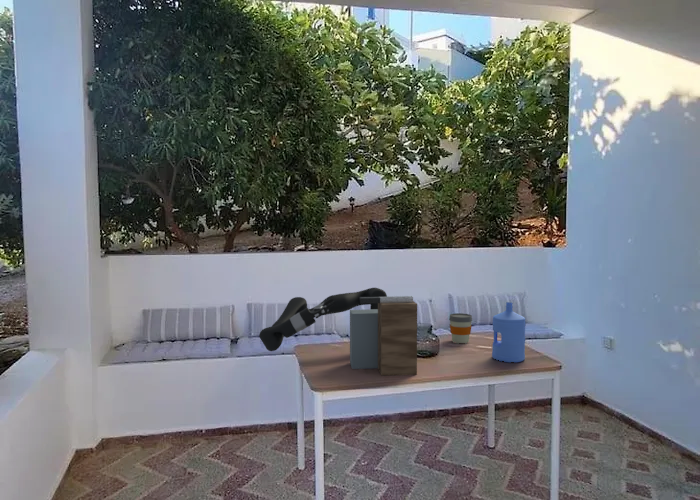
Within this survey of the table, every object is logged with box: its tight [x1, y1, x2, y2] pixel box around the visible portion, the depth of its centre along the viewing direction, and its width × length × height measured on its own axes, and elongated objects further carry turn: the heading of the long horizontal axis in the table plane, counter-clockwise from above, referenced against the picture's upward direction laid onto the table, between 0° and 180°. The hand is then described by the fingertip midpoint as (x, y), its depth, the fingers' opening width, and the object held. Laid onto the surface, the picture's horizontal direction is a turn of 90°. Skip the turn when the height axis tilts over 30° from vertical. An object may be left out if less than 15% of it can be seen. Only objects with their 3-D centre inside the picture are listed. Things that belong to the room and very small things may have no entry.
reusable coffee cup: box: [449, 312, 473, 344], centre depth 295 cm, size 13×13×15 cm
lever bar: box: [360, 295, 414, 304], centre depth 237 cm, size 3×24×2 cm, turn 96°
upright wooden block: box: [377, 300, 418, 377], centre depth 239 cm, size 11×16×32 cm
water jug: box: [491, 301, 526, 363], centre depth 260 cm, size 16×16×28 cm
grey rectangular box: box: [349, 308, 378, 370], centre depth 249 cm, size 10×20×26 cm, turn 96°
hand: (334, 301), depth 234 cm, fingers open, 8 cm apart
